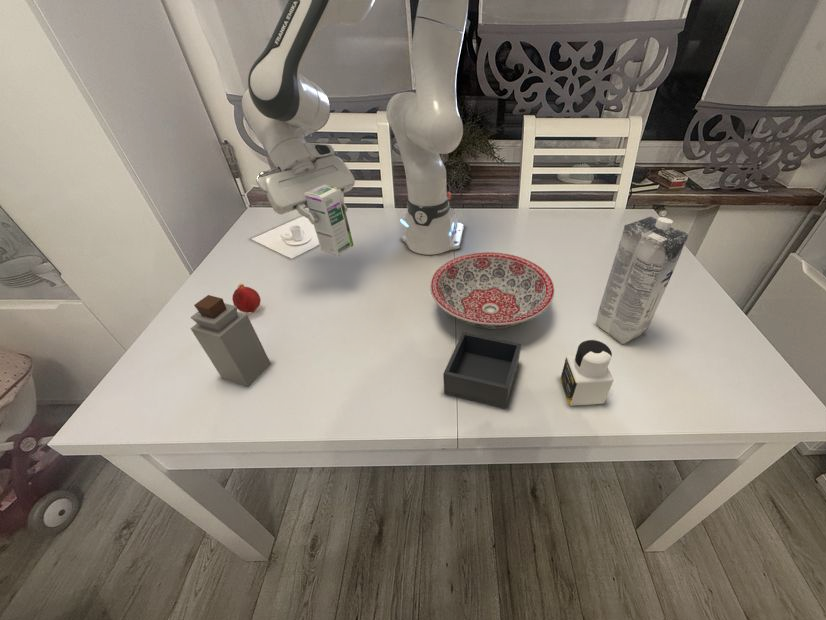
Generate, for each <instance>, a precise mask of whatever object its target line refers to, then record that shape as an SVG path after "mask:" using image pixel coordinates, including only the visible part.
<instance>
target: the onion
mask: <svg viewBox="0 0 826 620" xmlns="http://www.w3.org/2000/svg"><path fill="white" fill-rule="evenodd" d="M231 298H232V303H233V305H234V306H237V311H239V312H241V313H246V314H249V313H255V311H256V310H257V309H259V307H260V304H261V301H262V300H261V296H260V294H259V293H258V291H257V290H255V289H254V288H252V287H250V286H245V284H243V283H239V284H238V286H237V288H236V289H235V290H234V292H233V294H232V297H231Z"/></svg>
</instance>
